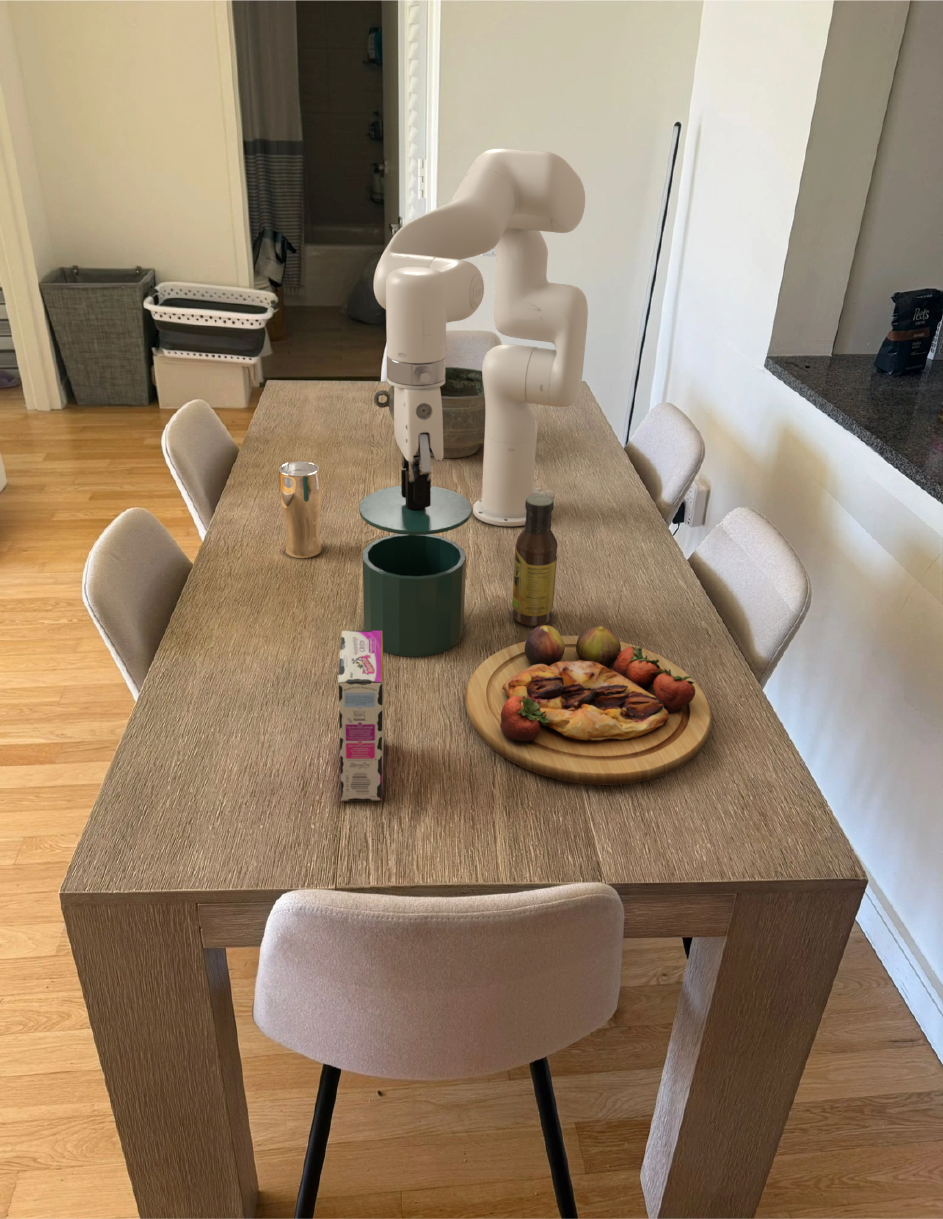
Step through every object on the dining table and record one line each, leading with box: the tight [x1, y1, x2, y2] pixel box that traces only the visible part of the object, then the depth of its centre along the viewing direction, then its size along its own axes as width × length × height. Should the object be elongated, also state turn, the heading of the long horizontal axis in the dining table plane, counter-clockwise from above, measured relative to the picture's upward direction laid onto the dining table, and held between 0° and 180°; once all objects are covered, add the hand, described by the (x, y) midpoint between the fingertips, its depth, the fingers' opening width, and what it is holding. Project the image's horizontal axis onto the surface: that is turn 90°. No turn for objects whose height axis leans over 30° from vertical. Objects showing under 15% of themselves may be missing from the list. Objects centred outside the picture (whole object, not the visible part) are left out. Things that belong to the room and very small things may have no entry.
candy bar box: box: [337, 630, 385, 802], centre depth 108 cm, size 11×5×16 cm, turn 5°
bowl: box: [373, 366, 485, 459], centre depth 206 cm, size 32×26×15 cm
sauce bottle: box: [511, 494, 558, 627], centre depth 140 cm, size 6×6×20 cm
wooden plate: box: [464, 624, 713, 786], centre depth 122 cm, size 32×32×8 cm
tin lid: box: [358, 466, 473, 535], centre depth 130 cm, size 16×16×7 cm
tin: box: [361, 533, 467, 658], centre depth 138 cm, size 15×15×13 cm
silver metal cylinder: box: [278, 460, 323, 559], centre depth 159 cm, size 7×7×15 cm
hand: (415, 500), depth 131 cm, fingers closed on tin lid, 2 cm apart
